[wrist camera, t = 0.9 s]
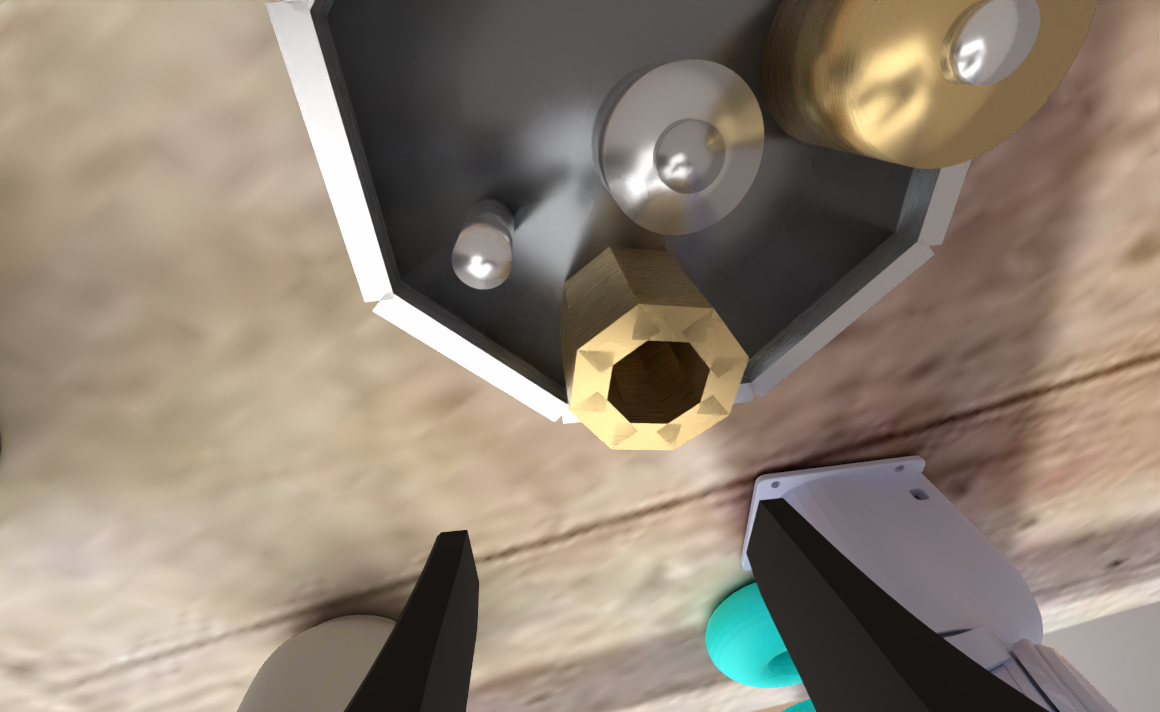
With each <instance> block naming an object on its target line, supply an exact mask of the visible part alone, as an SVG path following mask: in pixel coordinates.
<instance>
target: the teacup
mask: <svg viewBox="0 0 1160 712" xmlns="http://www.w3.org/2000/svg"><path fill="white" fill-rule="evenodd" d="M396 622H397V621H394V620H392V619H389V618H385V617H381V616H375V615H347V616H342V617H337V618H334V619H331V620H328V621H326V622H323V623H321V624H319V625H317V626H315V627H312V628H310V629H307V630H305V631H303V632H301V633H299V634H297V635H295V636H293V637H292V638H290V639H289V640H287V641H286V642H285V643H283V644H282V645H281V646H280V647H278V648H277V649H276V650H275V651H274V652H273V653H272V654H271V656H270V657H269V658H268V659H267V660H266V662H265V663H264V664H263V666H262V667H261V668H260V670H259V671H258V673H257V675H256V676H255V678H254V680H253V682H252V683H251V685H250V687H249V689H248V691H247V693H246V695H245V697H244V699H243V701H242V702H241V704H240V706H239V708H238V710H237V712H344V710H345V709H346V707H347V705H348V704H349V702H350V701H351V699H352V698H353V696H354V694H355V693H356V691H357V690H358V688H359V686H360V685H361V683H362V682H363V680H364V678H365V677H366V675H367V673H368V672H369V670H370V668H371V666H372V665H373V663H374V661H375V660H376V658H377V656H378V654H379V653H380V651H381V649H382V648H383V646H384V644H385V642H386V641H387V639H388V637H389V635H390V634H391V632H392V630H393V628H394V626H395V624H396Z"/></svg>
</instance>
